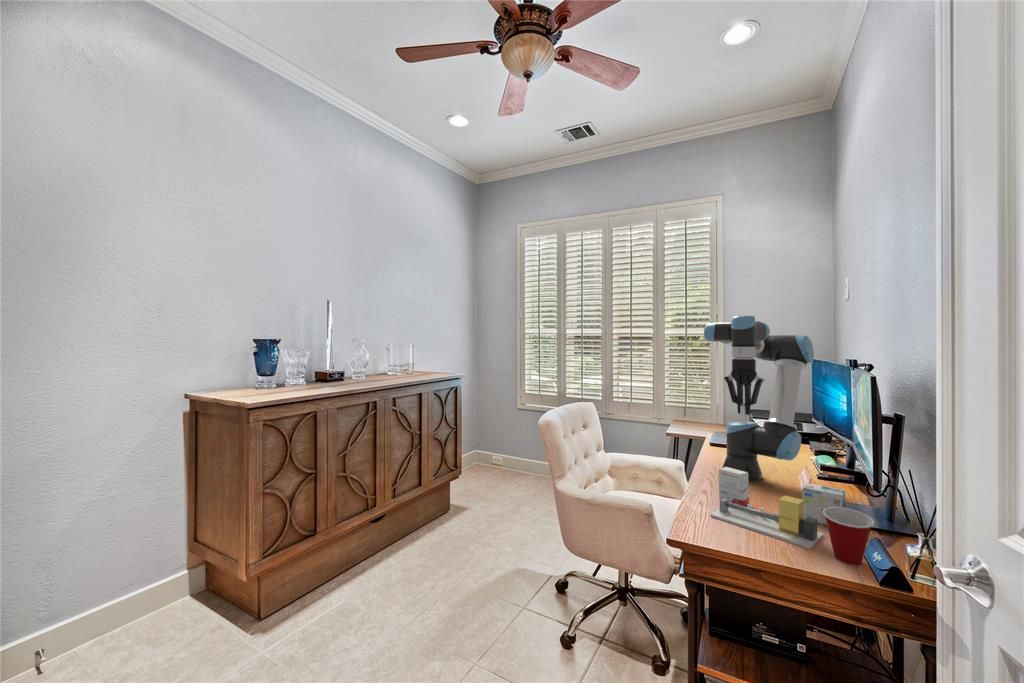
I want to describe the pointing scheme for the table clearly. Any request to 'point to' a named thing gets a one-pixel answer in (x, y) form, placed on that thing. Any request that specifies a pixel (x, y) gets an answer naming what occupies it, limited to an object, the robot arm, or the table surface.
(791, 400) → the robot arm
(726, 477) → the ink box
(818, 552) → the table surface
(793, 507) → the sleeve
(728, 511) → the rod slider on plate
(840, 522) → the plastic cup
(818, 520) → the light bulb box
